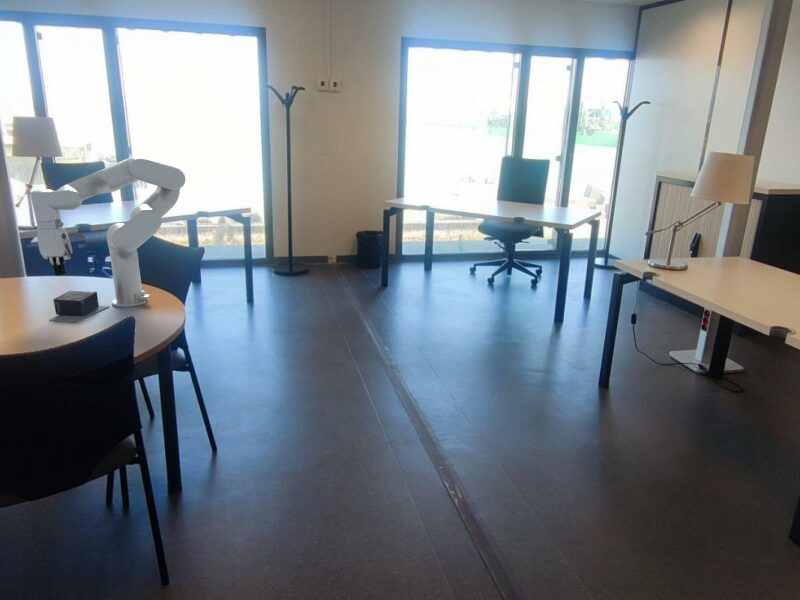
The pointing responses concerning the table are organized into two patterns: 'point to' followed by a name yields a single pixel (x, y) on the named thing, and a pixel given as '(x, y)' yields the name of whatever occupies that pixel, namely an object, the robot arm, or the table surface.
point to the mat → (77, 318)
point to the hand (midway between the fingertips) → (60, 274)
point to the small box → (76, 303)
